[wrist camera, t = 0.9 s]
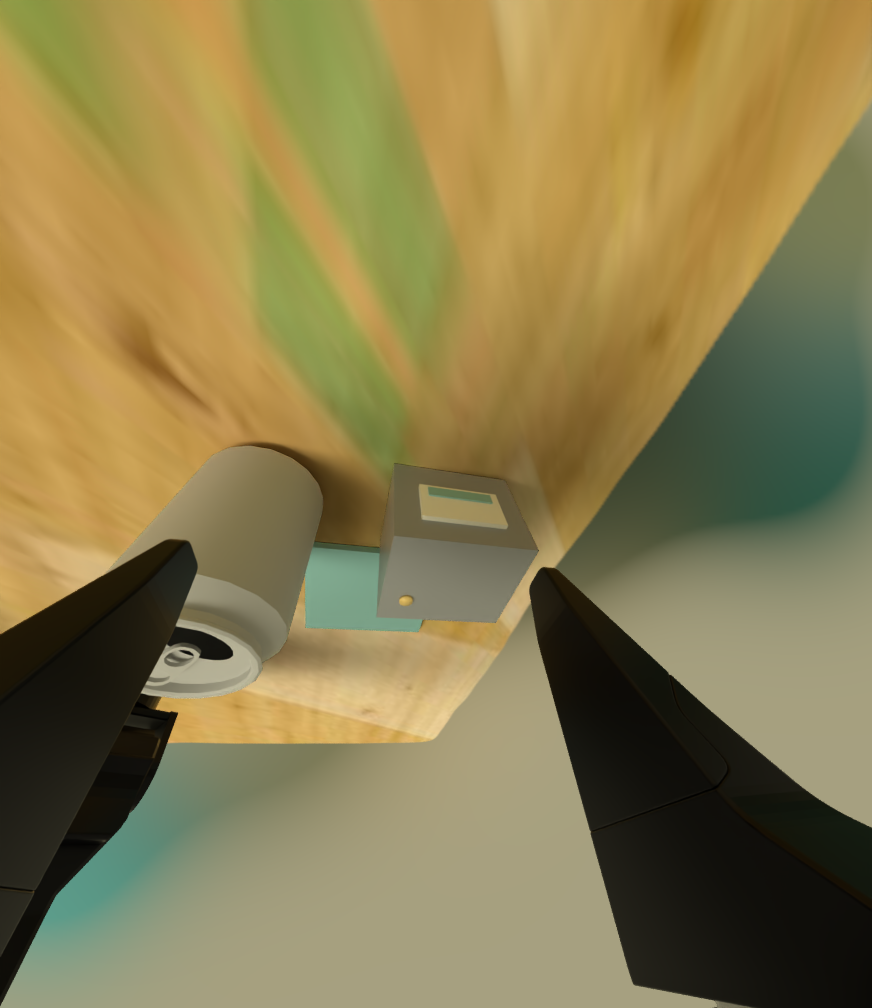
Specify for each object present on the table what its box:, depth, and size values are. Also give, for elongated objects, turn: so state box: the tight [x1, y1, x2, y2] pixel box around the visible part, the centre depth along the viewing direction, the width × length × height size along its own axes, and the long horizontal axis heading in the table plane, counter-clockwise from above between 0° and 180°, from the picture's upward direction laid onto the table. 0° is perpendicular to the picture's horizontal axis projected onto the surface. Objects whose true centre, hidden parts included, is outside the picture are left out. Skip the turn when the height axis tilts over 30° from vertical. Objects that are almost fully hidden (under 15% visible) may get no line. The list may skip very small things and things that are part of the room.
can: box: [105, 446, 323, 698], centre depth 17 cm, size 8×8×12 cm
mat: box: [305, 542, 423, 632], centre depth 29 cm, size 11×11×1 cm
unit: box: [376, 463, 539, 623], centre depth 21 cm, size 7×8×7 cm
